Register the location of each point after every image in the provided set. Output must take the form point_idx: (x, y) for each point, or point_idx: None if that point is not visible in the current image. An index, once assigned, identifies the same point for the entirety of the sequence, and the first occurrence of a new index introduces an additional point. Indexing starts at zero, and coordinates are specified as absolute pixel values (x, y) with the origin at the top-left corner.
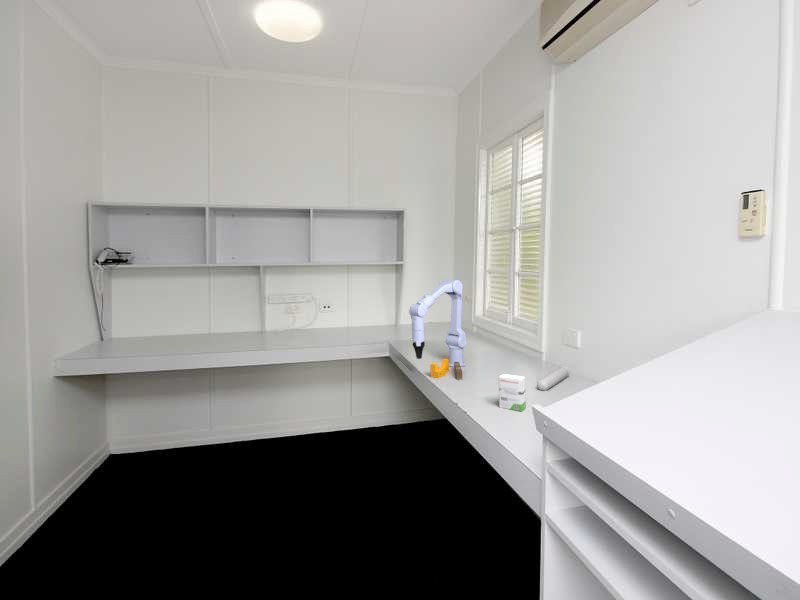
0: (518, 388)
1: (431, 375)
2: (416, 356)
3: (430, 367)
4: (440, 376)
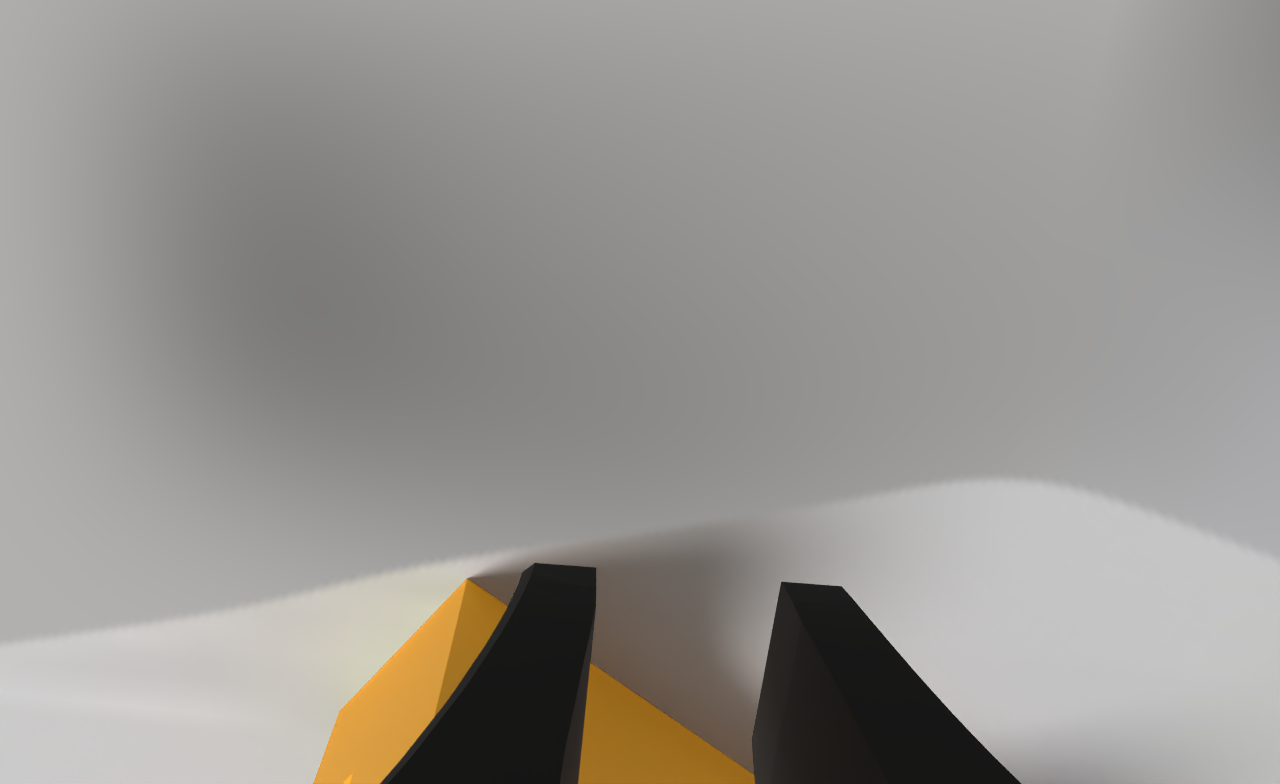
0: None
1: (445, 619)
2: (507, 617)
3: None
4: None
